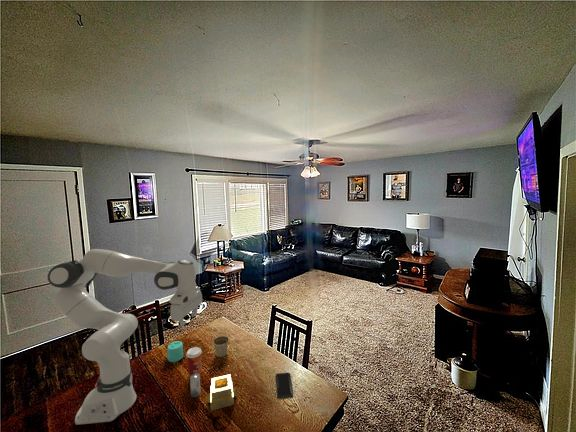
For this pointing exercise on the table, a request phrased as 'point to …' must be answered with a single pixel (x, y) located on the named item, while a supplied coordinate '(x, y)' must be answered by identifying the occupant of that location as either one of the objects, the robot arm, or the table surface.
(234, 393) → the valve body
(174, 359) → the turquoise rounded container
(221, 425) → the table surface
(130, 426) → the table surface
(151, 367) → the table surface
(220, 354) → the flower pot
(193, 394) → the silver metal cylinder
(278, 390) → the phone
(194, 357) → the paper cup
